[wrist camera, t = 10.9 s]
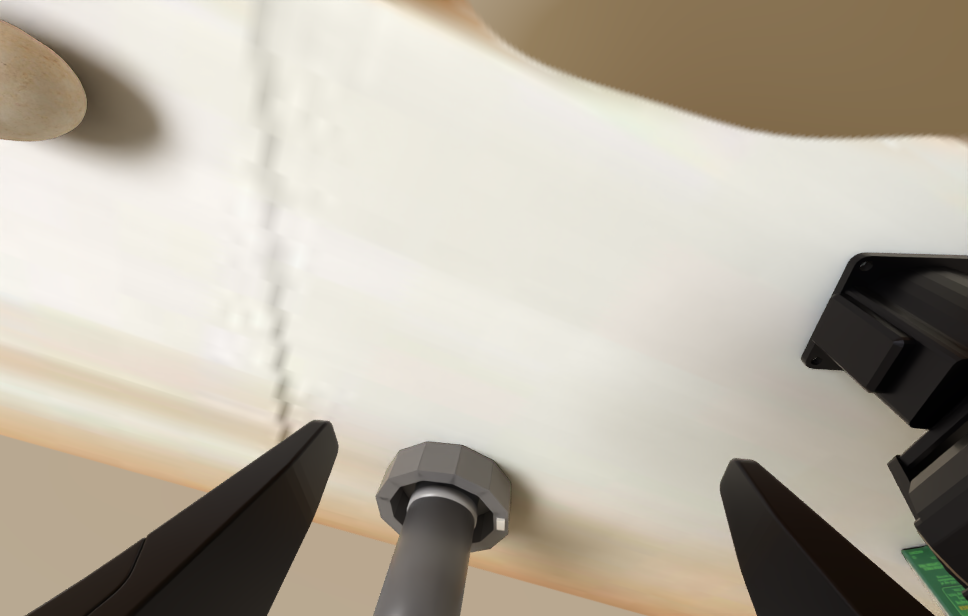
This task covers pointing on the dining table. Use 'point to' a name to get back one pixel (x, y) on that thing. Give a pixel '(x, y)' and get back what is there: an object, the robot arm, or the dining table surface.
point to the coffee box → (937, 581)
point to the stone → (36, 89)
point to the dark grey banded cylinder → (431, 553)
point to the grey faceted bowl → (454, 469)
